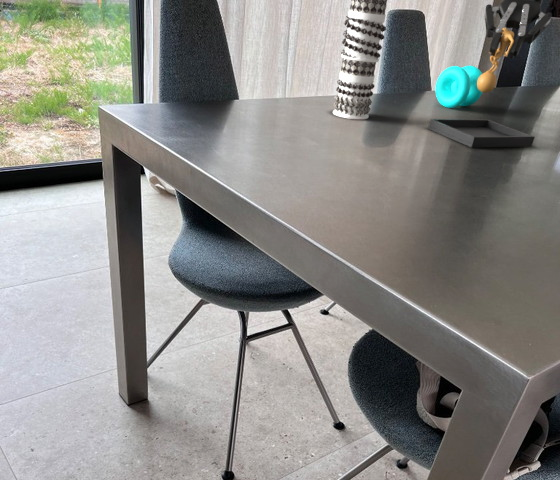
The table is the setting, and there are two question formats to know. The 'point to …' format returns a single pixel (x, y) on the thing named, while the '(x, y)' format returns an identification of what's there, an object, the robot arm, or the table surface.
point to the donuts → (458, 86)
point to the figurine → (495, 62)
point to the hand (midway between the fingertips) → (502, 54)
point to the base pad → (480, 133)
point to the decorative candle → (359, 58)
